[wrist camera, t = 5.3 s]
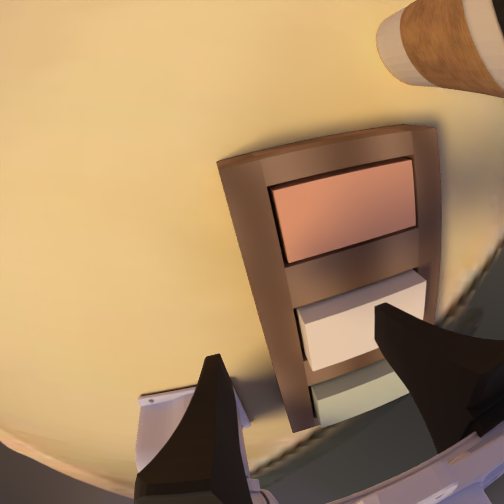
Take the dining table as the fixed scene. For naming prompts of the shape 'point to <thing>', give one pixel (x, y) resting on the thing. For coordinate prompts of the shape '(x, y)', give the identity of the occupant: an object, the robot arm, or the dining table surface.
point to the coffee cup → (446, 45)
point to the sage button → (355, 392)
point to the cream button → (354, 318)
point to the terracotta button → (342, 207)
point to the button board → (333, 262)
